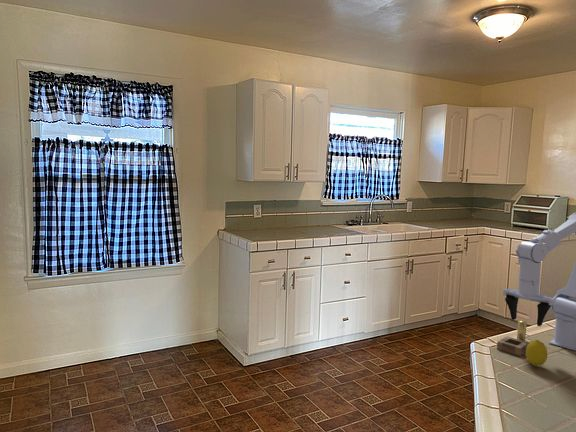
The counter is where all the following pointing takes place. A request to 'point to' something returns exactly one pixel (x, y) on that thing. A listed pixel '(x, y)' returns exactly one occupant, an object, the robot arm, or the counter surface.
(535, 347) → the lemon
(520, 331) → the brass pin
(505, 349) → the socket block
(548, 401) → the counter surface
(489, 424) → the counter surface
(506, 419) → the counter surface
